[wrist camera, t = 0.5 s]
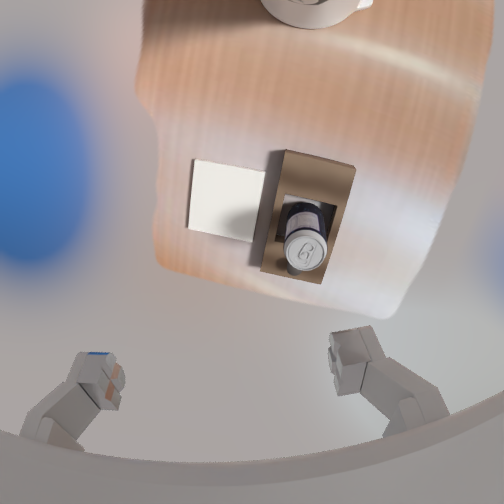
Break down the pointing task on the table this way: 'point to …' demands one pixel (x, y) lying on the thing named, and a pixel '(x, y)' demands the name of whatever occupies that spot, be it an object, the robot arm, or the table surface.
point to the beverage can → (305, 237)
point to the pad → (225, 199)
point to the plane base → (312, 187)
